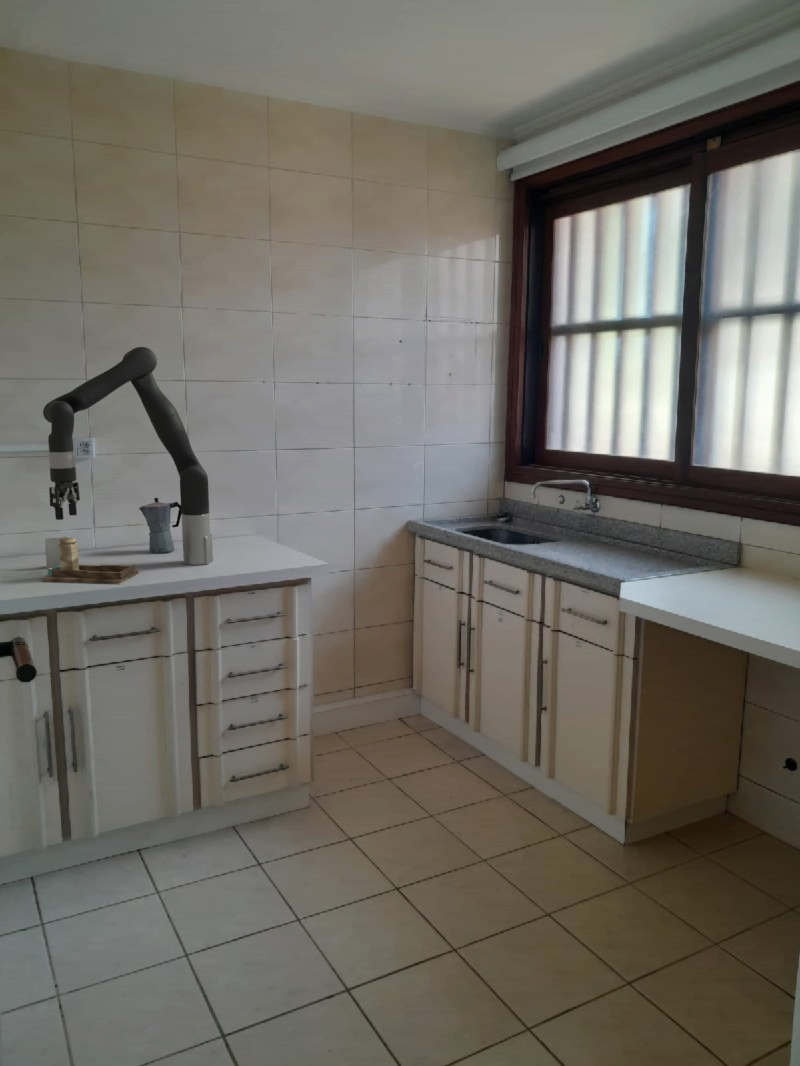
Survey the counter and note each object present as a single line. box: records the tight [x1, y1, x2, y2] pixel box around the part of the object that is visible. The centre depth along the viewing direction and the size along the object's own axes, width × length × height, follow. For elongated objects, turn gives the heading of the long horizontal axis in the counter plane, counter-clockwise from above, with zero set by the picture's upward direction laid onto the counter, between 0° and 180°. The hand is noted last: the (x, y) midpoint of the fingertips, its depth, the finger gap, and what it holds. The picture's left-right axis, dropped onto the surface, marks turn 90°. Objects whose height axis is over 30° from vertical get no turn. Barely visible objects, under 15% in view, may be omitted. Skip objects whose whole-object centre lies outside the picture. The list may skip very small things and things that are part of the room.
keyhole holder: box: [42, 564, 140, 584], centre depth 255 cm, size 25×14×3 cm, turn 85°
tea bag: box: [44, 536, 68, 570], centre depth 269 cm, size 4×7×10 cm, turn 120°
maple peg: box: [59, 537, 80, 570], centre depth 255 cm, size 5×5×11 cm
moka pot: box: [138, 497, 182, 554], centre depth 294 cm, size 10×15×20 cm, turn 115°
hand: (66, 517), depth 253 cm, fingers open, 8 cm apart
